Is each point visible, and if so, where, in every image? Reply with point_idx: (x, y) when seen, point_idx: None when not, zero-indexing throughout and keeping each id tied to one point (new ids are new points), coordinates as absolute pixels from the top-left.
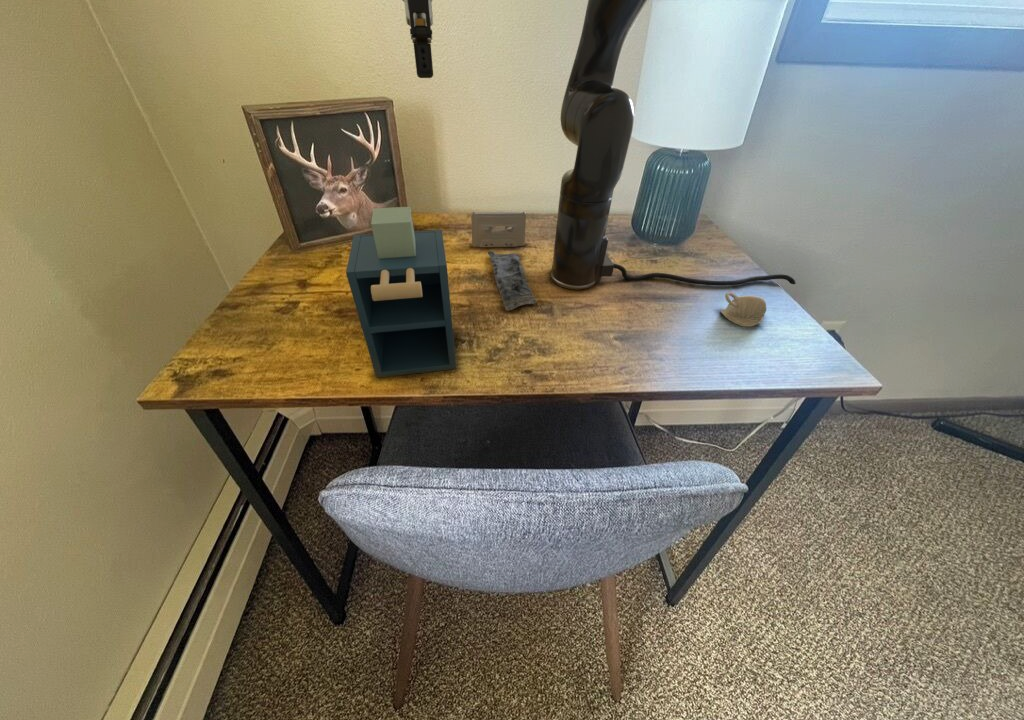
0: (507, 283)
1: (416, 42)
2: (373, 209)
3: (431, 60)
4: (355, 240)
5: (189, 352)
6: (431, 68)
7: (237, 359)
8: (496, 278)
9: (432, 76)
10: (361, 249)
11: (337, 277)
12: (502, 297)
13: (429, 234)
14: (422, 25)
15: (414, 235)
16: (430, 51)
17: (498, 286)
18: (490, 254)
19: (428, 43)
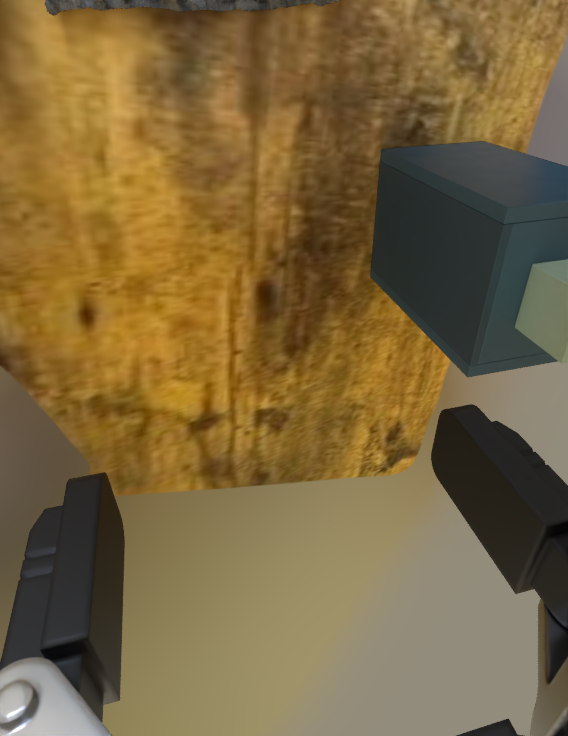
0: None
1: (117, 655)
2: (566, 362)
3: (515, 454)
4: (491, 369)
5: (348, 476)
6: (489, 430)
7: (373, 429)
8: (207, 6)
9: (469, 405)
10: (526, 352)
11: (181, 381)
12: (296, 2)
13: (519, 235)
14: (565, 661)
15: (550, 268)
16: (548, 489)
17: (251, 6)
18: (58, 4)
19: (545, 533)
